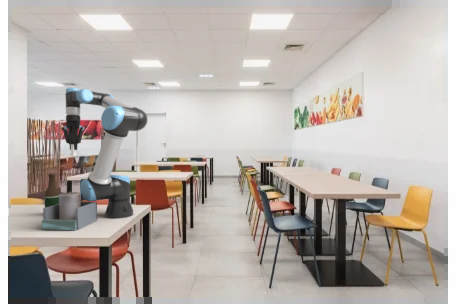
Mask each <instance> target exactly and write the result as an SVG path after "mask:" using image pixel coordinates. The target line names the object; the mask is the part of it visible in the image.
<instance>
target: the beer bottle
mask: <svg viewBox="0 0 456 304" xmlns="http://www.w3.org/2000/svg"><path fill="white" fill-rule="evenodd" d="M56 184H57V183H56V173H48V185H47V188H46V190H45V192H44V208H46V207H50V206H53V205H57V204H59V194H60V191H59V189H58V187H57V185H56Z"/></svg>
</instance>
